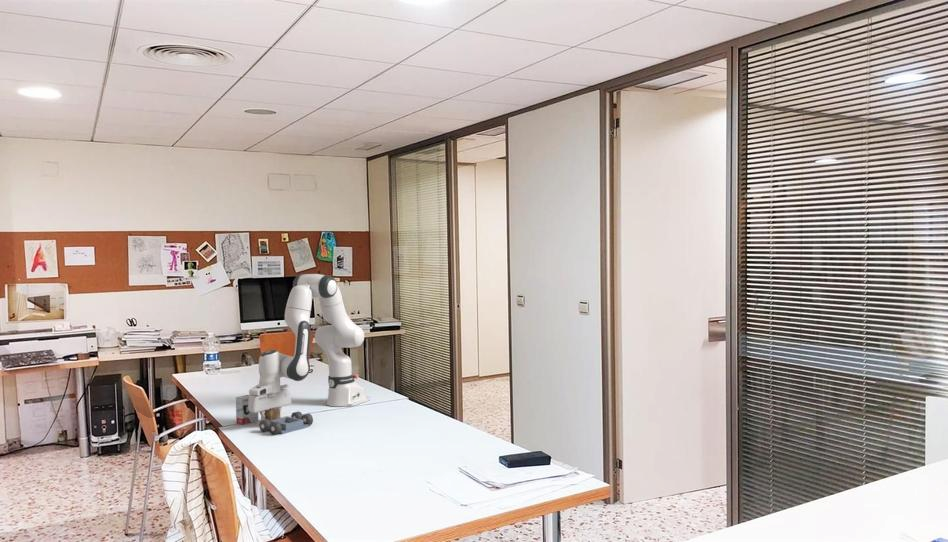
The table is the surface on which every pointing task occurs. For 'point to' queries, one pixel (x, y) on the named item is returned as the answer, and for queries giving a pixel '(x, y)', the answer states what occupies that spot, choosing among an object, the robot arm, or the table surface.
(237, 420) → the ink box
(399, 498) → the table surface
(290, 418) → the chassis
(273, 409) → the brown box
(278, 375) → the robot arm
